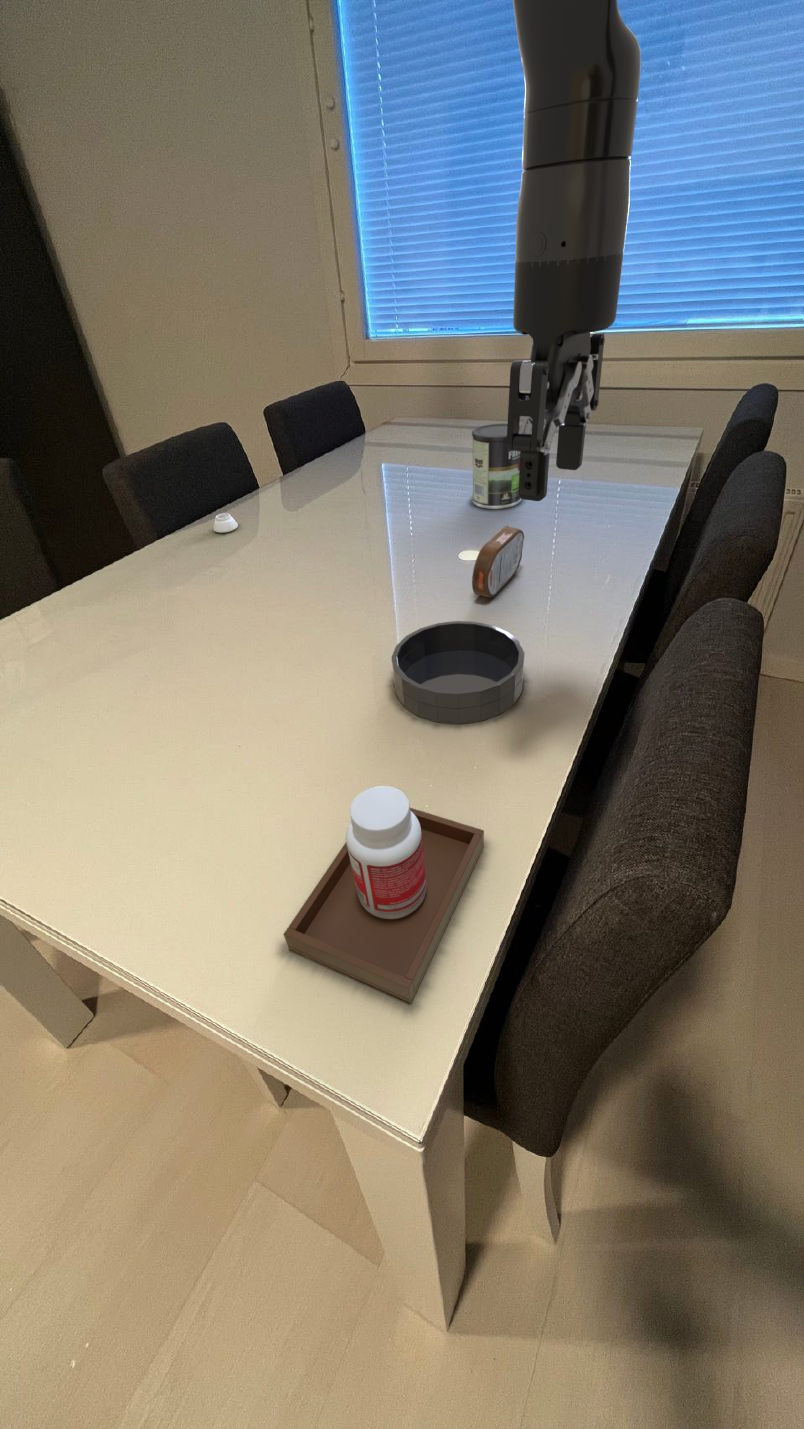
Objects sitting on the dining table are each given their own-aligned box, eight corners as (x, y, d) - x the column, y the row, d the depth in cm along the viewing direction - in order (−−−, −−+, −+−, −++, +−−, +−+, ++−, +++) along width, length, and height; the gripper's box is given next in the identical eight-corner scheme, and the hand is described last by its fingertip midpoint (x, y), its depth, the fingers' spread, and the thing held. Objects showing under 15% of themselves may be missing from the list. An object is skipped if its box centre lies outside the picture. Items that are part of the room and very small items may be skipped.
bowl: (549, 680, 77) (551, 651, 74) (459, 742, 69) (458, 712, 66) (456, 636, 87) (456, 608, 84) (369, 686, 79) (365, 657, 76)
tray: (410, 1003, 46) (408, 988, 45) (288, 948, 51) (283, 933, 49) (483, 845, 57) (484, 830, 56) (378, 812, 62) (376, 796, 60)
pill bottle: (439, 880, 54) (434, 795, 47) (403, 934, 50) (390, 849, 43) (383, 853, 57) (369, 769, 50) (344, 902, 53) (324, 818, 46)
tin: (508, 565, 104) (510, 517, 98) (525, 568, 102) (528, 519, 97) (470, 604, 94) (469, 553, 89) (488, 608, 93) (489, 556, 87)
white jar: (242, 525, 129) (221, 524, 130) (238, 511, 127) (218, 511, 128) (231, 534, 125) (210, 533, 126) (227, 520, 123) (206, 520, 125)
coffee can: (528, 495, 129) (532, 424, 120) (509, 512, 123) (511, 438, 114) (485, 490, 134) (485, 421, 125) (463, 506, 127) (462, 435, 118)
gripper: (587, 256, 37) (563, 517, 47) (650, 241, 46) (618, 462, 56) (476, 263, 40) (476, 505, 50) (555, 248, 49) (541, 455, 59)
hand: (551, 482), depth 53 cm, fingers open, 8 cm apart
